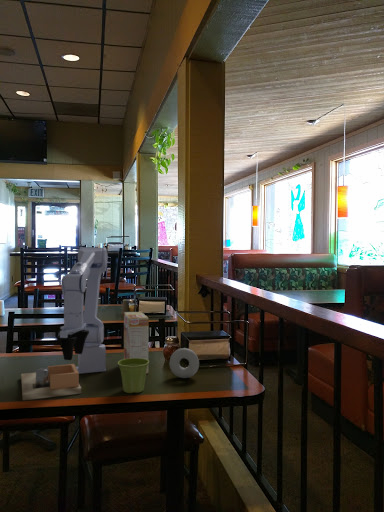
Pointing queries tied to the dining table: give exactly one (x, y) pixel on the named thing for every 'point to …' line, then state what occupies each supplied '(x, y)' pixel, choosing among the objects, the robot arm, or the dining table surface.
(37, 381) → the peg
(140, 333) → the coffeecake box
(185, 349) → the donut
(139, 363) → the plant pot
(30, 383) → the board
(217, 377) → the dining table surface
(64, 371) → the light brown open box
